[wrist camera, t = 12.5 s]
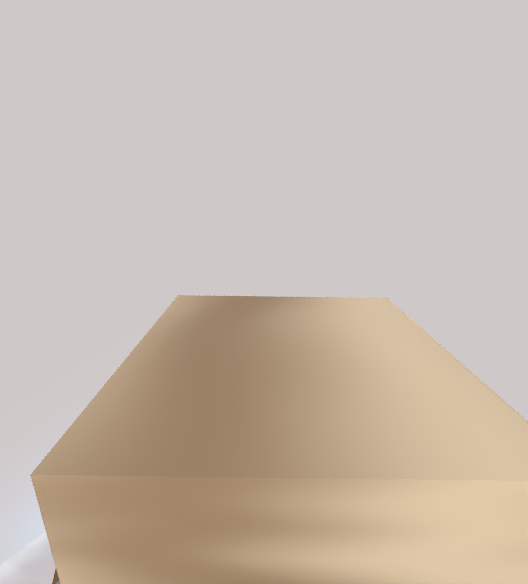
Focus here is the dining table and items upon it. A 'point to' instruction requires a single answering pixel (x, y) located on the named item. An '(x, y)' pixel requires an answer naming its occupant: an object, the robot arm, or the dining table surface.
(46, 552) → the dining table surface
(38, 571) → the dining table surface
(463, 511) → the oak pillar
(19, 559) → the dining table surface
